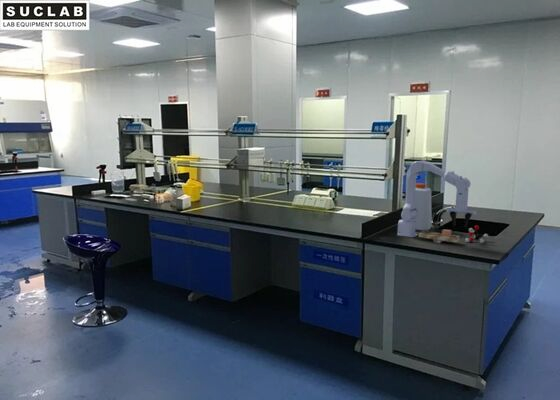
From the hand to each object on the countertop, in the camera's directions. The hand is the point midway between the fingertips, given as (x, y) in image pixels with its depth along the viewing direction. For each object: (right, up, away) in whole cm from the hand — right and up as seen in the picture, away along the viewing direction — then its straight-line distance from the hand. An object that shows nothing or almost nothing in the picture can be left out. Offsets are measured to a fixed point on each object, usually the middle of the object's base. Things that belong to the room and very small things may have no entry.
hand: (459, 226), depth 228 cm
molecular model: (+12, -9, +7) cm, 16 cm away
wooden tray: (-8, -9, +8) cm, 14 cm away
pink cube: (-5, -6, +5) cm, 9 cm away
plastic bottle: (-10, -4, +39) cm, 41 cm away
